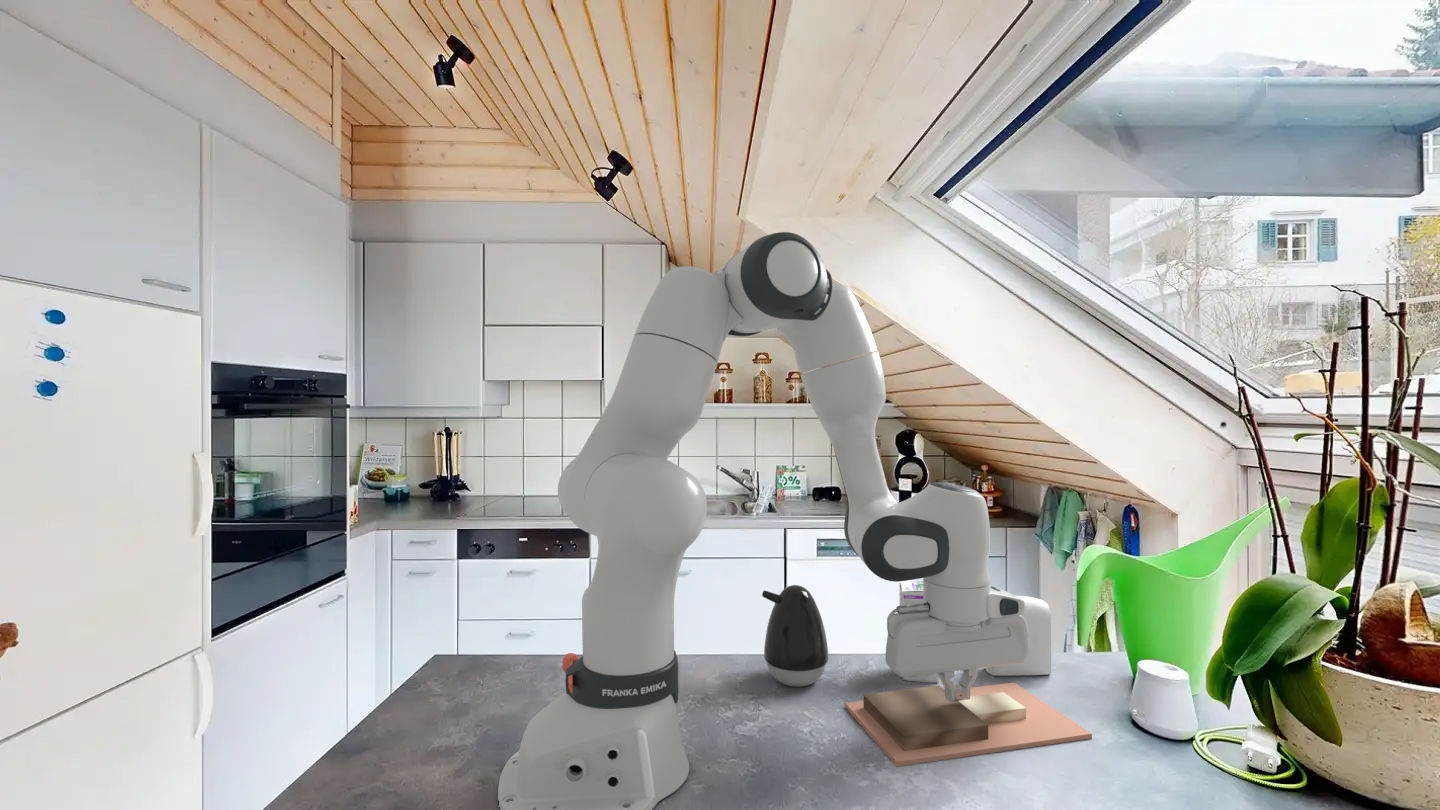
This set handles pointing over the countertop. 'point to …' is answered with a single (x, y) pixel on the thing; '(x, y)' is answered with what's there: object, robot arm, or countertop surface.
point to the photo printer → (1032, 642)
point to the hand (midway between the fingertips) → (957, 699)
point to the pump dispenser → (795, 638)
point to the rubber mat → (1030, 732)
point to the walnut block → (924, 718)
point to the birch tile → (995, 708)
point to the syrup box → (908, 596)
